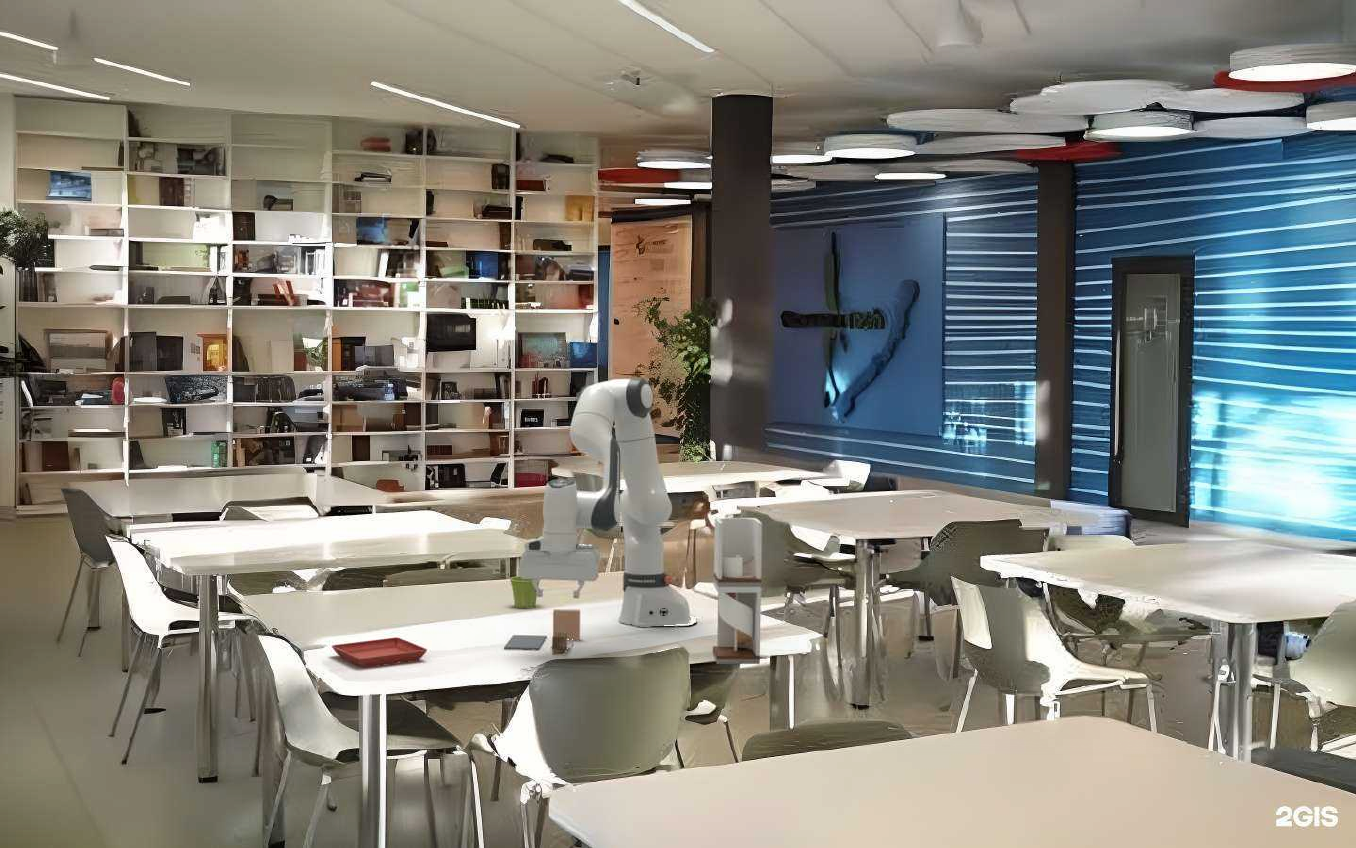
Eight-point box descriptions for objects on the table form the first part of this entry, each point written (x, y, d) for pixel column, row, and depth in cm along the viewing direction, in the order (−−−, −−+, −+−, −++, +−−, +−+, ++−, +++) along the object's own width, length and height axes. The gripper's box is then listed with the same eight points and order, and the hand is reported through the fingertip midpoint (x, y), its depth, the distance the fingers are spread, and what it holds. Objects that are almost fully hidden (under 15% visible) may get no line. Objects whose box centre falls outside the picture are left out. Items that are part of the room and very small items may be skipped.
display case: (712, 654, 351) (714, 517, 350) (753, 654, 352) (756, 518, 351) (716, 664, 340) (719, 523, 339) (759, 664, 341) (762, 523, 339)
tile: (579, 639, 368) (580, 609, 368) (579, 640, 366) (579, 611, 366) (553, 638, 369) (554, 609, 368) (553, 640, 367) (553, 610, 366)
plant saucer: (359, 671, 328) (359, 657, 328) (330, 657, 343) (330, 644, 343) (428, 662, 339) (428, 649, 339) (397, 649, 353) (397, 637, 353)
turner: (573, 644, 361) (573, 627, 361) (567, 654, 348) (568, 637, 348) (554, 644, 362) (554, 627, 361) (548, 654, 349) (548, 636, 348)
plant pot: (525, 610, 409) (525, 581, 409) (502, 607, 415) (503, 578, 415) (547, 606, 417) (547, 578, 417) (524, 603, 423) (524, 575, 422)
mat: (546, 638, 369) (546, 635, 369) (538, 650, 353) (538, 648, 353) (513, 637, 369) (513, 635, 369) (503, 649, 354) (503, 647, 353)
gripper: (601, 543, 353) (599, 596, 354) (522, 540, 354) (520, 594, 354) (598, 546, 347) (597, 600, 347) (518, 543, 348) (516, 597, 348)
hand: (558, 597), depth 351 cm, fingers open, 8 cm apart
